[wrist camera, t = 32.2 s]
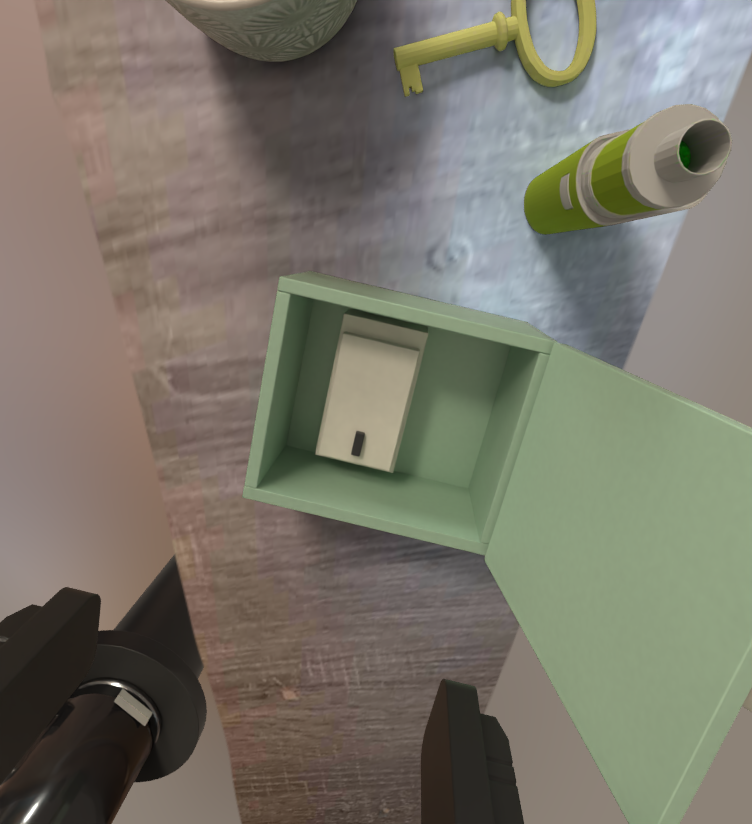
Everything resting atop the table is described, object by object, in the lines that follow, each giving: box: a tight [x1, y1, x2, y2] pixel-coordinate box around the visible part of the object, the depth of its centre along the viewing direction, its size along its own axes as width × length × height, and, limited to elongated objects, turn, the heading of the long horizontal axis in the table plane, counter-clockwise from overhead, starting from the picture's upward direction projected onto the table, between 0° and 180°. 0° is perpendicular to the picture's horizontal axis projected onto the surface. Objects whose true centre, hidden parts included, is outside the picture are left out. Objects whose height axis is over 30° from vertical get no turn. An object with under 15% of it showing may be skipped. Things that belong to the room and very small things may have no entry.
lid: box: [484, 342, 752, 824], centre depth 24 cm, size 16×14×5 cm
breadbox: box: [242, 271, 558, 555], centre depth 36 cm, size 16×14×9 cm
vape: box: [524, 104, 732, 235], centre depth 26 cm, size 4×6×20 cm, turn 102°
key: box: [394, 0, 596, 97], centre depth 33 cm, size 7×12×2 cm, turn 122°
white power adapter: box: [315, 309, 428, 473], centre depth 37 cm, size 10×6×4 cm, turn 167°
